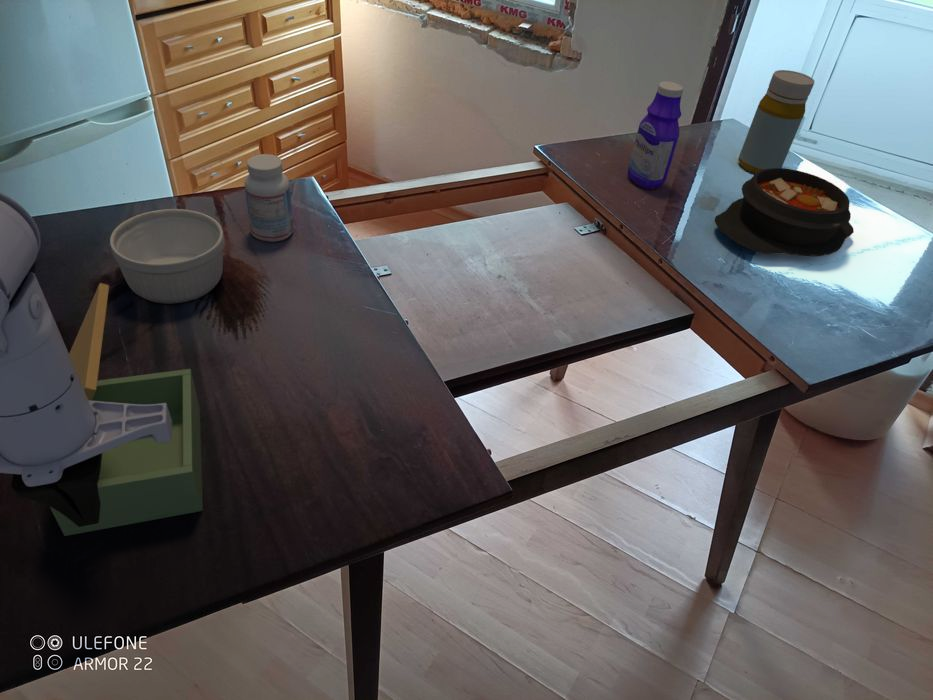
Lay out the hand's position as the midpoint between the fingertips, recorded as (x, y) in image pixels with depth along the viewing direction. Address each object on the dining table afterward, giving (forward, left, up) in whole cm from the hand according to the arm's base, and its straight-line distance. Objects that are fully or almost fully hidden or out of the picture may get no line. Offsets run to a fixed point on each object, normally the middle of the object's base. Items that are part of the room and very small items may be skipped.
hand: (89, 514), depth 51 cm
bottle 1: (+84, +62, -11) cm, 104 cm away
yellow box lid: (-2, +13, +1) cm, 13 cm away
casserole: (+98, +41, -11) cm, 107 cm away
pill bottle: (+17, +54, -11) cm, 58 cm away
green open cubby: (+1, +13, -10) cm, 17 cm away
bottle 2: (+110, +64, -11) cm, 128 cm away
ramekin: (+4, +44, -11) cm, 45 cm away
